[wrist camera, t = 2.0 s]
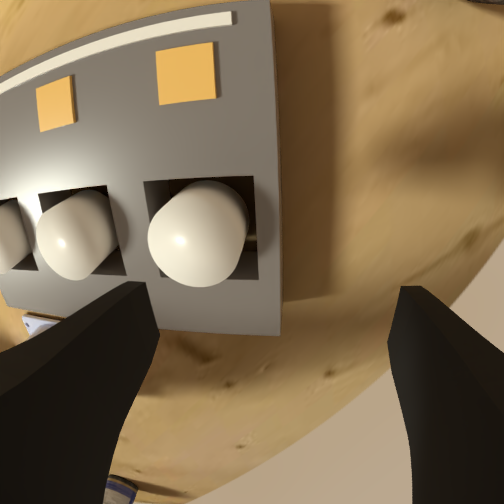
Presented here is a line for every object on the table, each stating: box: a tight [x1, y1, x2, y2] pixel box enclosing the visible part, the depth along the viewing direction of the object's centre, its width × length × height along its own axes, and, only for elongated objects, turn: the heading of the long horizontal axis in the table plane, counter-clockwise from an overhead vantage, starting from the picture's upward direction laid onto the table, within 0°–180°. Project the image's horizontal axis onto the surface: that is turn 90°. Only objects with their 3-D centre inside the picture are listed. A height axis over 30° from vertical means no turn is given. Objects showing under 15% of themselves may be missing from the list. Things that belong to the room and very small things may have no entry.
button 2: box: [0, 200, 32, 274], centre depth 16 cm, size 4×4×3 cm
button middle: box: [36, 190, 119, 280], centre depth 15 cm, size 4×4×3 cm
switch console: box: [0, 0, 283, 336], centre depth 16 cm, size 16×21×3 cm
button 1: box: [148, 180, 249, 287], centre depth 14 cm, size 4×4×3 cm
